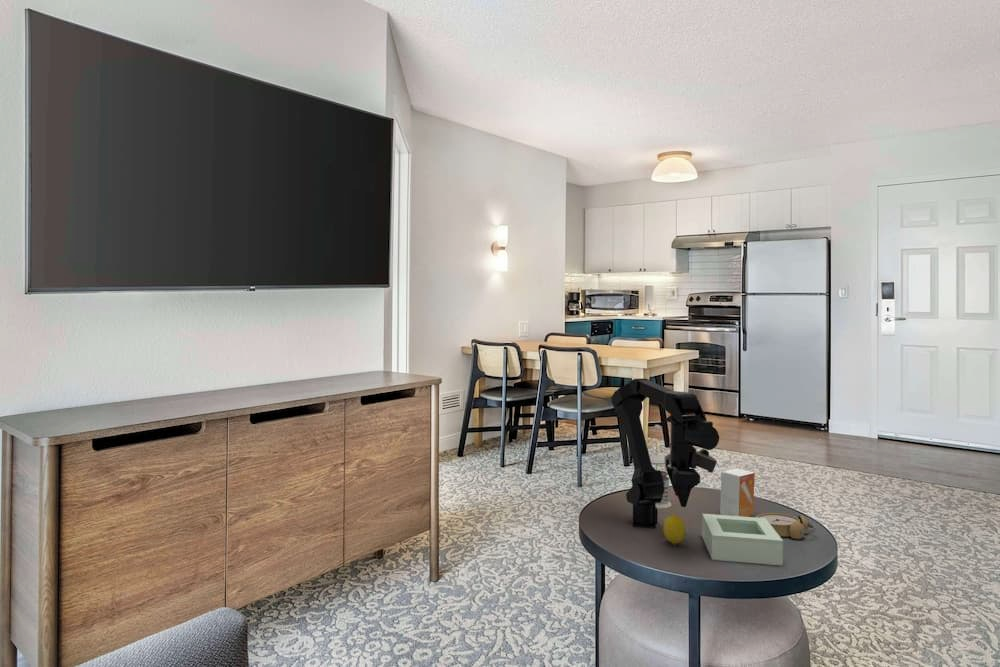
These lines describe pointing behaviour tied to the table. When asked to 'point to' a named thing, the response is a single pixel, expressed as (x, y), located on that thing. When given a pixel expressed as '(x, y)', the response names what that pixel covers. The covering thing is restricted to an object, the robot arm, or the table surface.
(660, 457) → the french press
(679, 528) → the lemon
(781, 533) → the alarm clock
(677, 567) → the table surface
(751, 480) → the small box
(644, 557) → the table surface
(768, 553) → the pale green square tray
